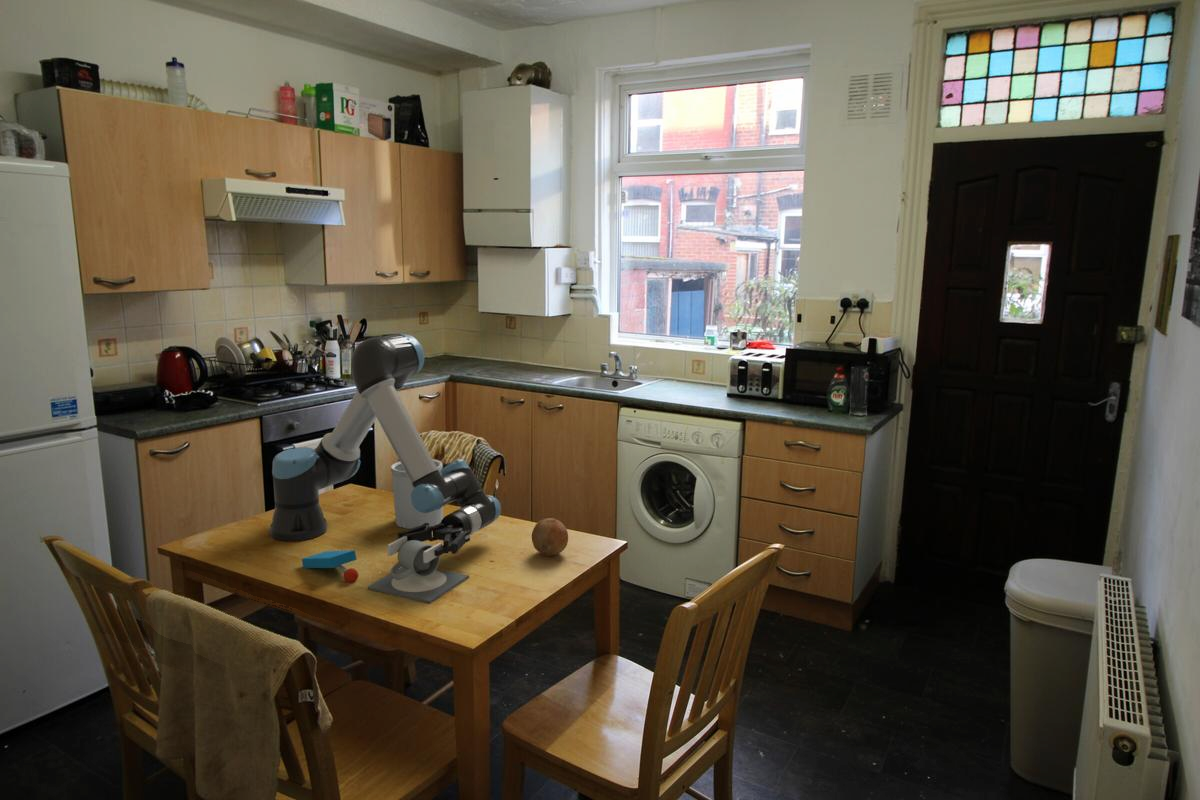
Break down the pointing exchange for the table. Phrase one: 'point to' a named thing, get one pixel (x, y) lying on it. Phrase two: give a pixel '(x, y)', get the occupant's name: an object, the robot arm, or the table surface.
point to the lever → (333, 562)
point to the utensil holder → (402, 500)
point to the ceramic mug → (414, 560)
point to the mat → (420, 585)
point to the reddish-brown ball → (549, 537)
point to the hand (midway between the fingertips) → (406, 554)
